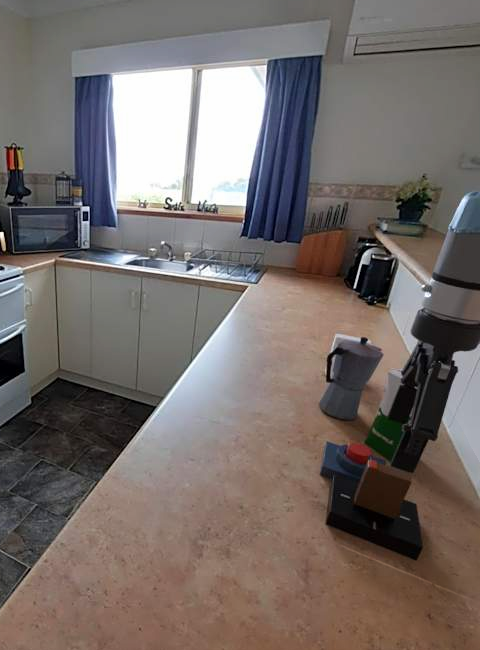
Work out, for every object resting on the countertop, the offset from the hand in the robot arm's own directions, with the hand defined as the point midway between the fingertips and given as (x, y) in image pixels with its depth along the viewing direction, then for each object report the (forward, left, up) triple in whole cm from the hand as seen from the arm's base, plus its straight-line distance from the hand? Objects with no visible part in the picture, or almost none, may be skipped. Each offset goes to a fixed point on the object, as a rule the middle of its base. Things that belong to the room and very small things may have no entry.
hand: (398, 442), depth 62 cm
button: (+3, -12, -13) cm, 18 cm away
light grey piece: (+7, -56, -17) cm, 59 cm away
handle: (0, 0, -13) cm, 13 cm away
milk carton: (-4, -24, -17) cm, 30 cm away
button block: (+3, -12, -16) cm, 20 cm away
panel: (0, 0, -16) cm, 16 cm away
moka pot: (+7, -34, -17) cm, 39 cm away
